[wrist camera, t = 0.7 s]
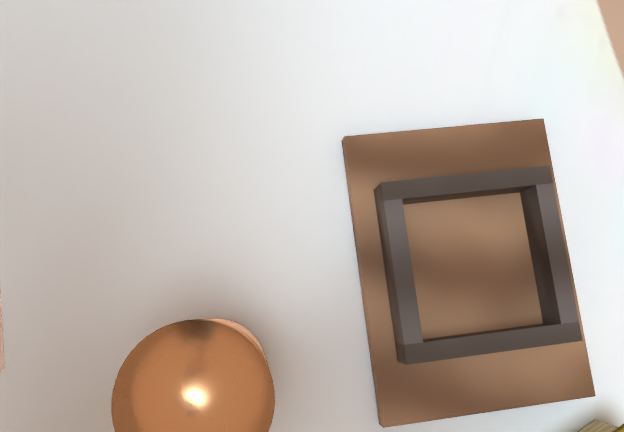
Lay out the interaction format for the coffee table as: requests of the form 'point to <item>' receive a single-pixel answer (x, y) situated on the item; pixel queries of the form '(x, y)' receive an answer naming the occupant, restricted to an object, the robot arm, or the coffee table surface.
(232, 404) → the brushed copper cylinder
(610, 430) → the hardcover book
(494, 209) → the duct base
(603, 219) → the coffee table surface
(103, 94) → the coffee table surface
